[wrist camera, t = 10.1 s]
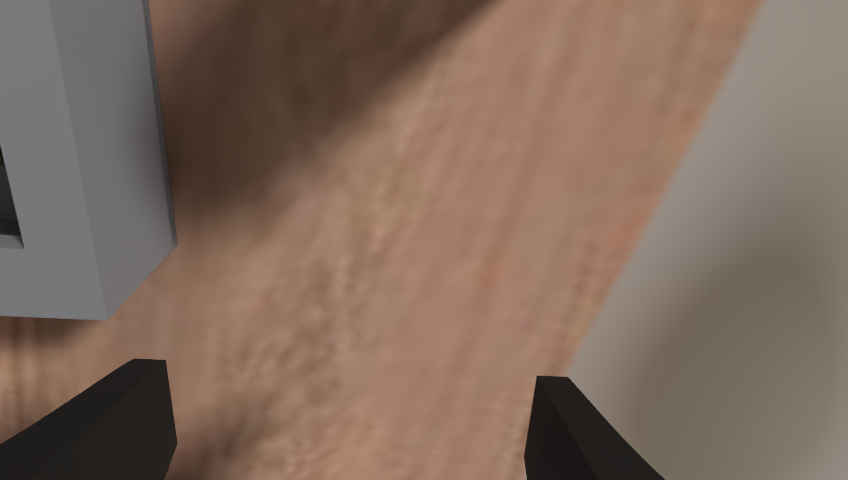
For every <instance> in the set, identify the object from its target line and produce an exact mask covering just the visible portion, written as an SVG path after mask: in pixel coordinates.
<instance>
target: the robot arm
mask: <svg viewBox="0 0 848 480" xmlns="http://www.w3.org/2000/svg"><path fill="white" fill-rule="evenodd" d="M176 446H177V437H176V430H175V423H174V416H173V409H172V402H171V395H170V388H169V380H168V373H167V366H166V360H153V359H132V360H131V361H129V362H127V363H126V364H124V365H122V366H121V367H119V368H118V369H116V370H115V371H113V372H112V373H110V374H108V375H107V376H105V377H104V378H102V379H101V380H99V381H98V382H96V383H95V384H94V385H92V386H91V387H89V388H88V389H86V390H85V391H83V392H82V393H80V394H79V395H77V396H76V397H74V398H73V399H71V400H70V401H68V402H67V403H65V404H64V405H62V406H60V407H59V408H57V409H56V410H54V411H53V412H51V413H50V414H48V415H47V416H45V417H44V418H42V419H41V420H39V421H38V422H36V423H35V424H33V425H31V426H30V427H28V428H26V429H25V430H23V431H22V432H20V433H18V434H17V435H15V436H13V437H12V438H10V439H8V440H7V441H5V442H4V443H2V444H0V480H164V478H165V476H166V473H167V471H168V468H169V465H170V462H171V460H172V457H173V454H174V451H175V449H176ZM524 460H525V467H526V475H527V480H665V479H664V478H663V477H662V476H661V475H659V474H658V473H657V472H656V471H655V470H654V469H653V468H652V467H651V466H650V465H649V464H648V463H647V462H646V461H645V460H644V459H643V458H642V457H641V456H640V455H639V454H638V453H637V452H636V451H635V450H634V449H633V448H632V447H631V446H630V445H629V444H628V443H627V442H626V441H625V440H624V439H623V438H622V437H621V436H620V434H619V433H618V432H617V431H616V430H615V429H614V428H613V427H612V426H611V425H610V424H609V423H608V421H607V420H606V419H605V418H604V417H603V416H602V415H601V414H600V412H599V411H598V410H597V409H596V408H595V407H594V406H593V405H592V403H591V402H590V401H589V400H588V399H587V398H586V397H585V396H584V394H583V393H582V392H581V391H580V390H579V389H578V388H577V387H576V385H575V384H574V383H573V382H572V381H571V380H570V379H569V378H568V377H556V376H537V379H536V385H535V391H534V398H533V404H532V410H531V417H530V423H529V429H528V435H527V442H526V448H525V454H524Z"/></svg>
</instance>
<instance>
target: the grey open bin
mask: <svg viewBox="0 0 848 480" xmlns="http://www.w3.org/2000/svg"><path fill="white" fill-rule="evenodd" d="M0 145H1V150H2V154H3V158H4V163H5V164H3V165H0V316H16V317H39V318H61V319H84V320H108V319H109V318H110V317H111V316H112V315H113V314H114V313H115V311H116V310H117V309H118V308H119V307H120V306H121V305H122V304H123V303H124V302H125V301H126V300H127V299H128V297H129V296H130V295H131V294H132V293H133V292H134V291H135V290H136V289H137V288H138V287H139V286H140V284H141V283H142V282H143V281H144V280H145V279H146V278H147V277H148V276H149V275H150V274H151V273H152V271H153V270H154V269H155V268H156V267H157V266H158V265H159V264H160V263H161V262H162V261H163V260H164V259H165V257H166V256H167V255H168V254H169V253H170V252H171V251H172V250H173V249H174V248H175V247H176V246H177V238H176V230H175V221H174V213H173V205H172V196H171V188H170V180H169V171H168V163H167V155H166V146H165V138H164V130H163V121H162V113H161V105H160V96H159V88H158V80H157V71H156V63H155V55H154V46H153V38H152V30H151V21H150V13H149V5H148V0H0Z"/></svg>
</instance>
